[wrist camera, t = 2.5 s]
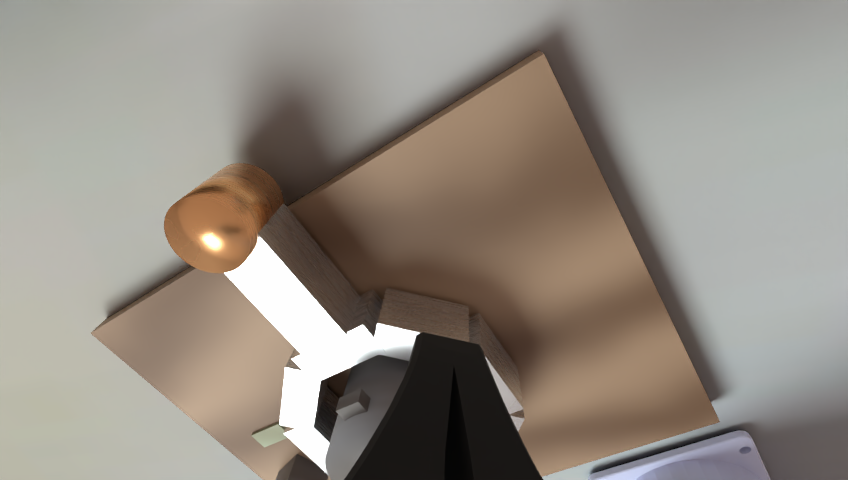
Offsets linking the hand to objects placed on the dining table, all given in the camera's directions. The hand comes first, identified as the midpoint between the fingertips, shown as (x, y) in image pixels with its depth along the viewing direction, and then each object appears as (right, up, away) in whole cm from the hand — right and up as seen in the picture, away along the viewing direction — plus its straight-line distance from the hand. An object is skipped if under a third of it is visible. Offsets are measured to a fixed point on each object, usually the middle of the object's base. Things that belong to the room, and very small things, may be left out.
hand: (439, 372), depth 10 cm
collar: (-3, -1, +9) cm, 10 cm away
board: (-1, -3, +11) cm, 12 cm away
